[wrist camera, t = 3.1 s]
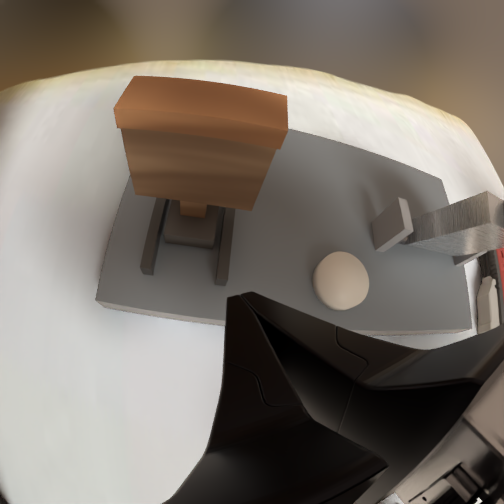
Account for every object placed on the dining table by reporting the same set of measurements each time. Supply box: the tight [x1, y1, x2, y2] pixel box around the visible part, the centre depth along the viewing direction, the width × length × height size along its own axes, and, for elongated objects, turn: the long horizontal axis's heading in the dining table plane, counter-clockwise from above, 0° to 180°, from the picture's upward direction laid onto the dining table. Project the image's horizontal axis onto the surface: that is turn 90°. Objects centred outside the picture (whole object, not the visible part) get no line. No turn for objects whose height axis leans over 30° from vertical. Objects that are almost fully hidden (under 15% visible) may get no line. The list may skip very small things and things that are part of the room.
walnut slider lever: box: [114, 76, 288, 249], centre depth 13 cm, size 4×6×9 cm, turn 86°
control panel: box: [95, 129, 487, 335], centre depth 19 cm, size 16×29×6 cm, turn 86°
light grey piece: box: [398, 191, 504, 257], centre depth 15 cm, size 2×8×11 cm, turn 86°
